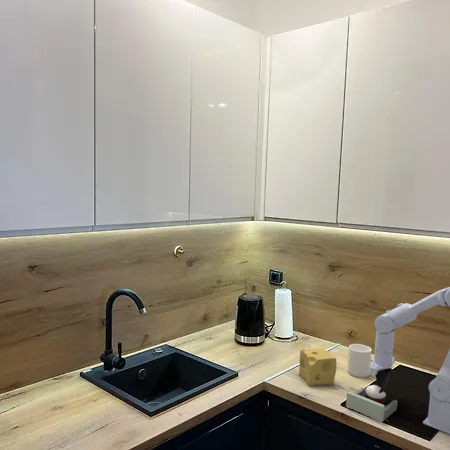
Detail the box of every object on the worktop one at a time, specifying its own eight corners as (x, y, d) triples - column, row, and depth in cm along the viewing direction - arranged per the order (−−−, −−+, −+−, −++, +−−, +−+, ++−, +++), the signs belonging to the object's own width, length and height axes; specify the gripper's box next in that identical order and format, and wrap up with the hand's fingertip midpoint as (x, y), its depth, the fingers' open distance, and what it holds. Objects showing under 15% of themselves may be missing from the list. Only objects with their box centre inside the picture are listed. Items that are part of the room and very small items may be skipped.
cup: (352, 378, 162) (354, 352, 161) (340, 364, 174) (341, 340, 173) (373, 377, 163) (375, 351, 162) (359, 364, 175) (361, 340, 174)
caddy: (396, 409, 140) (397, 394, 139) (381, 422, 132) (382, 406, 131) (362, 395, 148) (363, 382, 148) (345, 407, 140) (346, 392, 139)
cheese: (308, 386, 154) (310, 359, 153) (297, 373, 164) (299, 348, 163) (335, 384, 156) (337, 358, 155) (322, 371, 166) (324, 346, 165)
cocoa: (361, 398, 147) (361, 364, 146) (378, 397, 147) (379, 364, 146) (372, 413, 137) (372, 376, 136) (391, 412, 138) (392, 376, 137)
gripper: (381, 340, 151) (378, 377, 152) (362, 351, 141) (359, 390, 142) (401, 346, 146) (398, 384, 147) (383, 358, 136) (380, 399, 137)
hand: (380, 388), depth 144 cm, fingers closed
